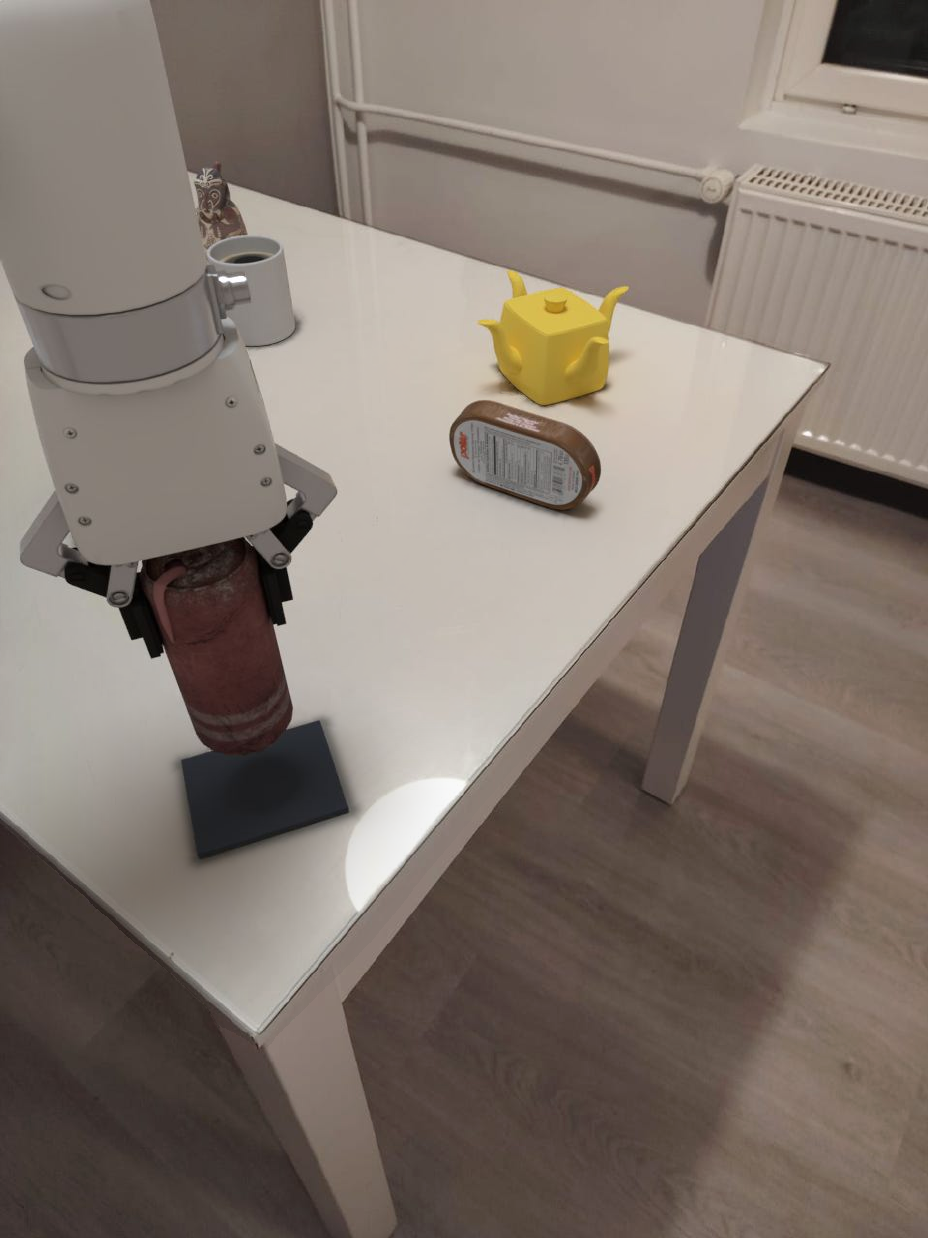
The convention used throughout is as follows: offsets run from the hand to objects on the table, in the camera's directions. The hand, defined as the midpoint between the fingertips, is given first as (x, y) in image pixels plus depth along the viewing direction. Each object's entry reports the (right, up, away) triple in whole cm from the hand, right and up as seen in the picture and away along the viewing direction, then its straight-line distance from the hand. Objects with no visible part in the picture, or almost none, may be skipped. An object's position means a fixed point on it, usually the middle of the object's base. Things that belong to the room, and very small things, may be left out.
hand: (215, 622), depth 48 cm
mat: (0, -11, +11) cm, 16 cm away
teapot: (+24, +28, +51) cm, 63 cm away
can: (0, -7, +6) cm, 9 cm away
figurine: (-20, +52, +76) cm, 94 cm away
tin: (+19, +12, +36) cm, 42 cm away
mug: (-13, +36, +60) cm, 71 cm away
